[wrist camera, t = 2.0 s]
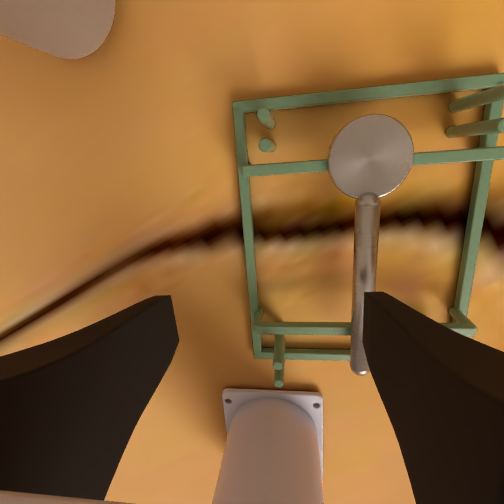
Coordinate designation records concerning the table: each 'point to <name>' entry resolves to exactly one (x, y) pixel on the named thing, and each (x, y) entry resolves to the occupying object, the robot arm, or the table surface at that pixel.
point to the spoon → (367, 199)
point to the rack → (497, 93)
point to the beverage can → (58, 25)
